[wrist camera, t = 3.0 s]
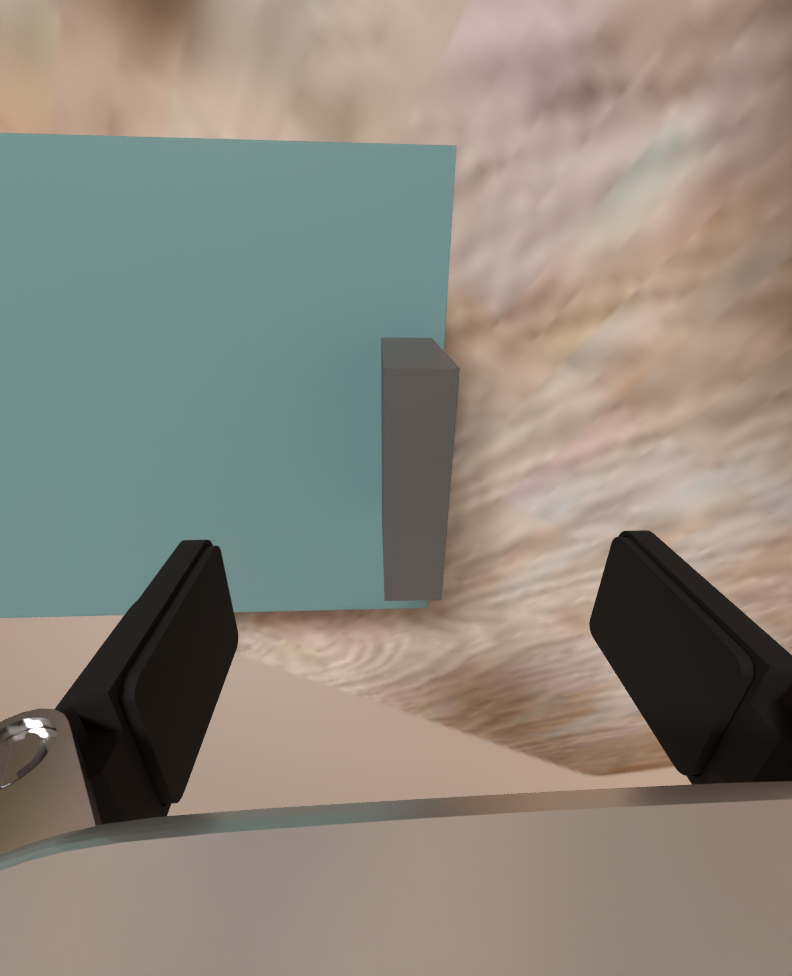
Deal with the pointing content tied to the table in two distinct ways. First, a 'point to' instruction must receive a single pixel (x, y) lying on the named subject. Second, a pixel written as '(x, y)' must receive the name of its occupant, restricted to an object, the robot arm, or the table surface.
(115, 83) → the table surface
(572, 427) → the table surface
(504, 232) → the table surface
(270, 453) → the lid
